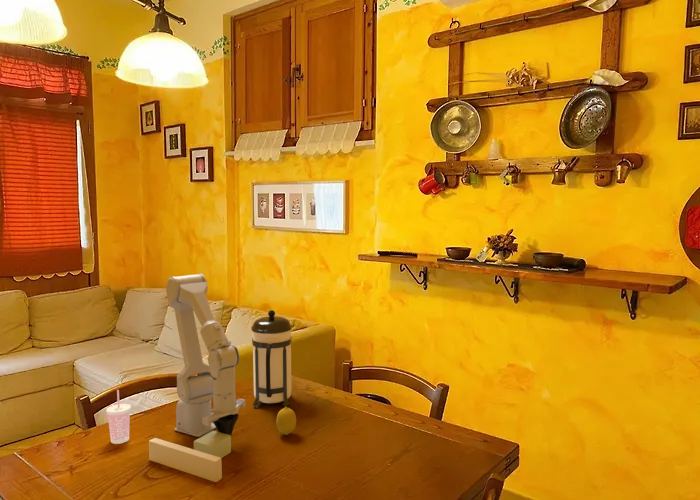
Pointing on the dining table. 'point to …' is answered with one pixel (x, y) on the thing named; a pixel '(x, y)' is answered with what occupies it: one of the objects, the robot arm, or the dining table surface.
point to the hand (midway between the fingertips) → (225, 441)
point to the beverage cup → (119, 421)
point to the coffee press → (272, 360)
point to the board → (185, 459)
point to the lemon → (286, 420)
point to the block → (214, 444)
